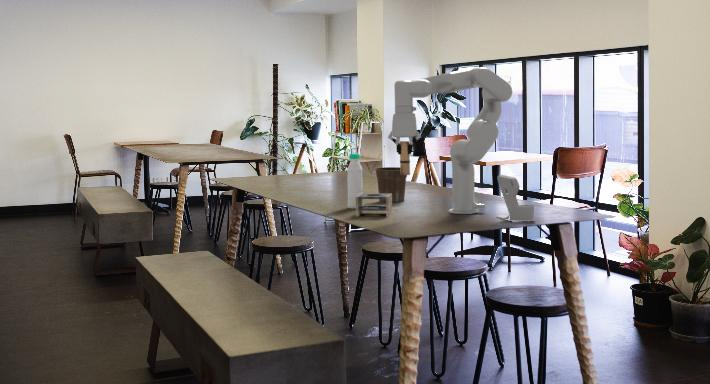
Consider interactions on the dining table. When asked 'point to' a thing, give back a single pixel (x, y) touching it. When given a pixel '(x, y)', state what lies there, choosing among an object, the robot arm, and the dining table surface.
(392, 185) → the plant pot
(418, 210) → the dining table surface
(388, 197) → the collar stand
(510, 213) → the phone holder
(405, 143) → the tan cylinder
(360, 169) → the water bottle
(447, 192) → the dining table surface
